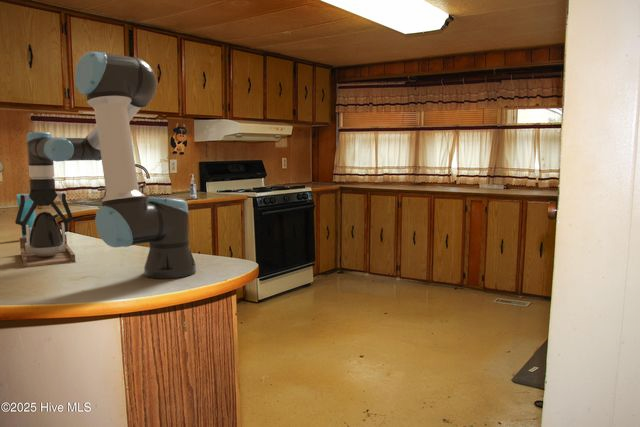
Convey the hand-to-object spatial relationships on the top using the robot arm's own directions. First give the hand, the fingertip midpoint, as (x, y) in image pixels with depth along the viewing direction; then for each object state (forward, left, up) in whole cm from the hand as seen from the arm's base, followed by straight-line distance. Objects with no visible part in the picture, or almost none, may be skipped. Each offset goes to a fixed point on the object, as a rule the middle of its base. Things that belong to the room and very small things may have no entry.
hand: (46, 243), depth 180 cm
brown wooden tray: (+1, -1, -6) cm, 6 cm away
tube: (+45, -11, -6) cm, 47 cm away
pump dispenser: (0, 0, -4) cm, 4 cm away
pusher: (+9, -3, -4) cm, 10 cm away
